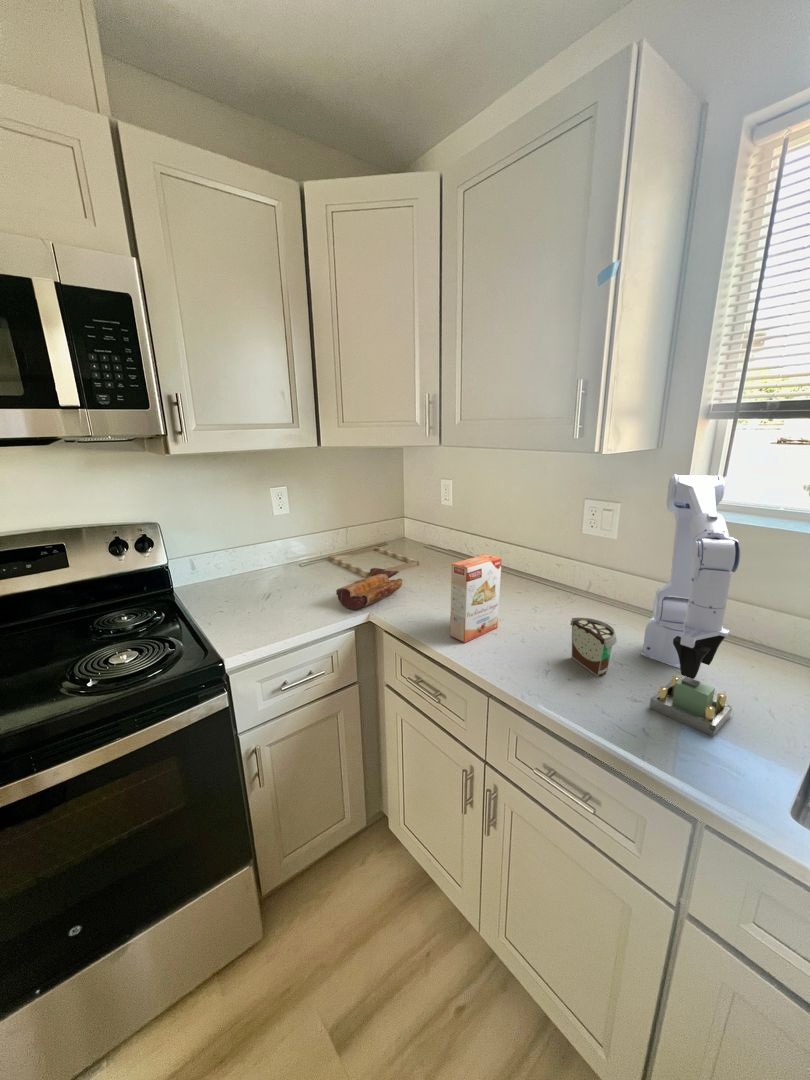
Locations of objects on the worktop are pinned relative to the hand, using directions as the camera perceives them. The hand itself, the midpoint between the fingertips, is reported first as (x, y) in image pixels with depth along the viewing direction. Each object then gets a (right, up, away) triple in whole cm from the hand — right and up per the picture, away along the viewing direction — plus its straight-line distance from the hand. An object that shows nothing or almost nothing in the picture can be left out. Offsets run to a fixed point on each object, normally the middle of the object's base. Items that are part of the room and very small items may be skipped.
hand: (695, 669), depth 84 cm
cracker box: (-36, -1, +38) cm, 52 cm away
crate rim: (-69, +14, +99) cm, 122 cm away
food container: (-11, -5, +20) cm, 23 cm away
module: (0, -8, +2) cm, 8 cm away
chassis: (0, -9, +2) cm, 9 cm away
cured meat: (-66, +12, +63) cm, 92 cm away
